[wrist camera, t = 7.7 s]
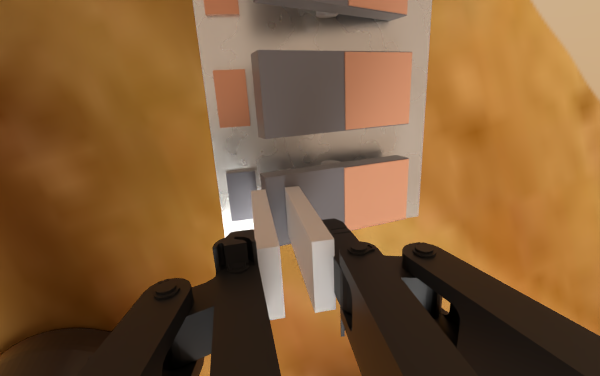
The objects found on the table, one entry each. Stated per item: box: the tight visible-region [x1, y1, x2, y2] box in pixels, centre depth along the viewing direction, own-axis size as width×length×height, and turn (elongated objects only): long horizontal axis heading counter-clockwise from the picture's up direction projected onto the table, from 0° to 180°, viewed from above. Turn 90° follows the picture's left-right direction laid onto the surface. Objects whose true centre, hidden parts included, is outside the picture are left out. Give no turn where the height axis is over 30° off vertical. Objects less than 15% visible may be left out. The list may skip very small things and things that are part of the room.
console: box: [193, 0, 432, 237], centre depth 21 cm, size 14×18×5 cm
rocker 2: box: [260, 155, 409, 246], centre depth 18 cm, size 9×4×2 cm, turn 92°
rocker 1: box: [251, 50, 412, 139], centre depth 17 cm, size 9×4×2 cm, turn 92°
